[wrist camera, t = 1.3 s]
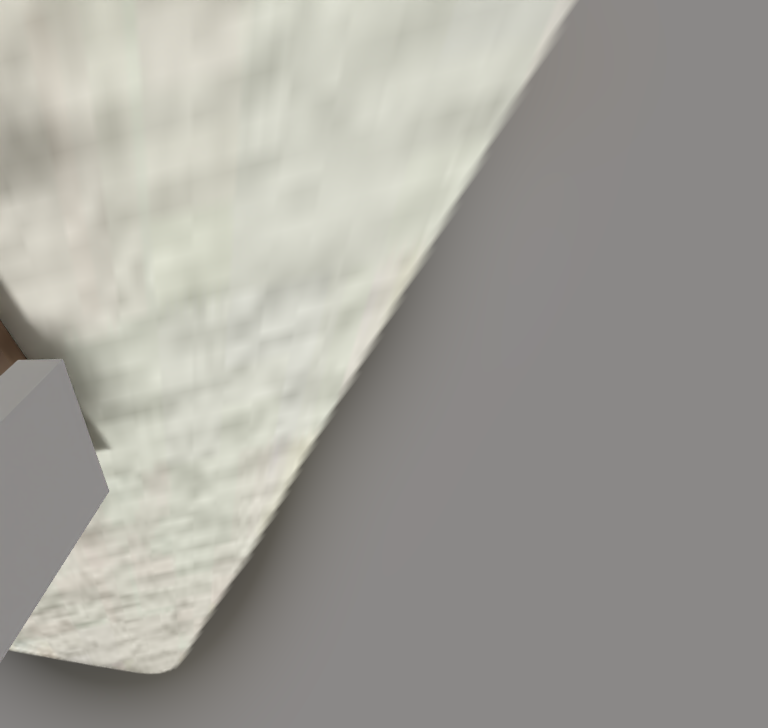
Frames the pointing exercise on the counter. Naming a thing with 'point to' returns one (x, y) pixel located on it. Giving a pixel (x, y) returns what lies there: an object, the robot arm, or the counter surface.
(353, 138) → the counter surface
